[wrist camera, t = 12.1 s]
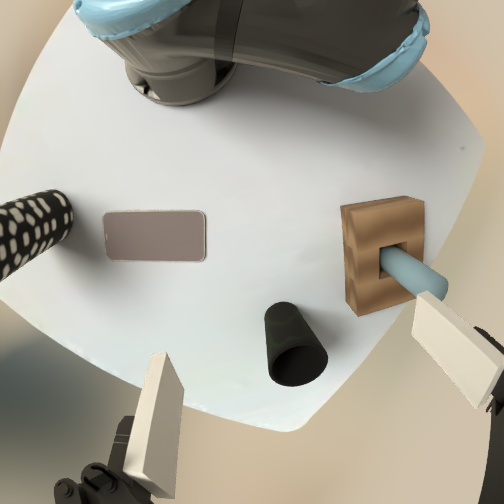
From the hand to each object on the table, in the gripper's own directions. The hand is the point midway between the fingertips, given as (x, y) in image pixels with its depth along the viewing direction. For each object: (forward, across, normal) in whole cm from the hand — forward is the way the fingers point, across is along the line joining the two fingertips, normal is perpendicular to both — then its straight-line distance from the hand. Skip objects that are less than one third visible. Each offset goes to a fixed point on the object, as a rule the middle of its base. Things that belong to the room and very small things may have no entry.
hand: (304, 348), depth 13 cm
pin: (+25, +19, -8) cm, 33 cm away
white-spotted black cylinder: (+27, -30, +8) cm, 41 cm away
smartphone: (+27, -14, +1) cm, 31 cm away
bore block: (+27, +19, -8) cm, 34 cm away
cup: (+27, +2, -16) cm, 31 cm away
